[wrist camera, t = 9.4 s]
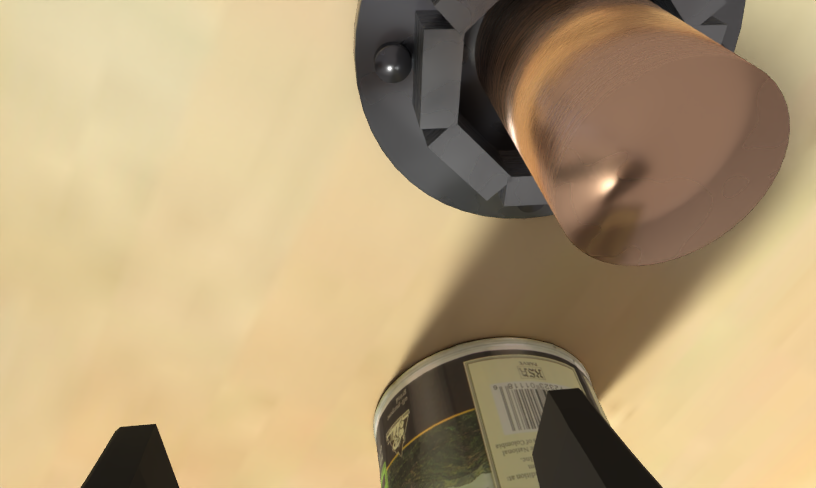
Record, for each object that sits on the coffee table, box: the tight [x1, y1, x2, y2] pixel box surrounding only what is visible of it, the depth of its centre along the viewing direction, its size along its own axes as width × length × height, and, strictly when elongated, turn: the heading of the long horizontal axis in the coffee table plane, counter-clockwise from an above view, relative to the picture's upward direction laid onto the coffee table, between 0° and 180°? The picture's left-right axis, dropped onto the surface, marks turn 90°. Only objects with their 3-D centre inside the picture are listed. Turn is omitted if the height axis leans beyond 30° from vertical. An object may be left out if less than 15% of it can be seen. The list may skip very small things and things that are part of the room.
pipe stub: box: [475, 0, 790, 266], centre depth 14 cm, size 4×4×7 cm
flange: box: [354, 0, 745, 218], centre depth 17 cm, size 11×11×2 cm
